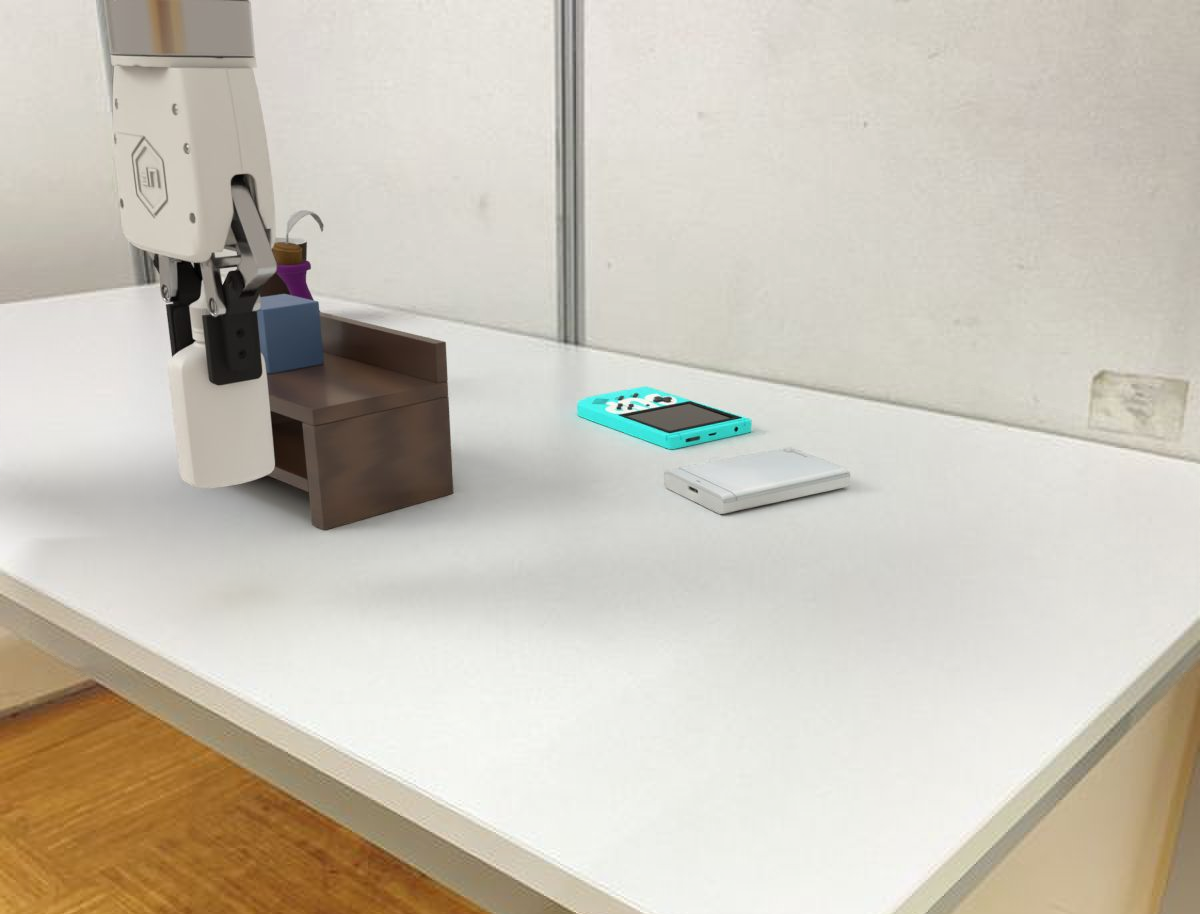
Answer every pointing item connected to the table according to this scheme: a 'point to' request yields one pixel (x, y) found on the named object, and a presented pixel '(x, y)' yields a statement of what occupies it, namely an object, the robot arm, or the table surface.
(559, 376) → the table surface
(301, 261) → the perfume bottle
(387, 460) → the rack
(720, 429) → the handheld game console
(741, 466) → the hard drive
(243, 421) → the eye dropper bottle
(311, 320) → the blue block
